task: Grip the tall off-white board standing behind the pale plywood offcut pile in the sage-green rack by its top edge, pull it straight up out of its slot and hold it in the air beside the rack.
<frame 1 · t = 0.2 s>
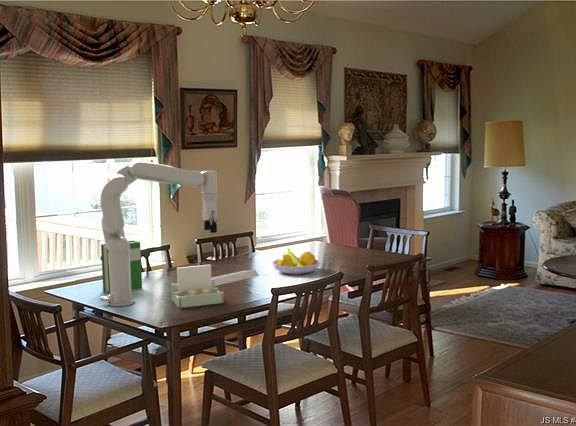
hand: (210, 231, 325), 31 cm above the table, tool pointing down, fingers open, 9 cm apart
fruit bowl: (296, 272, 376), on the table
crown molding: (230, 280, 360), on the table
sheet: (195, 299, 318), resting in rack
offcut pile: (199, 303, 311), resting in rack
hardback book: (122, 290, 339), on the table
rack: (195, 300, 316), on the table
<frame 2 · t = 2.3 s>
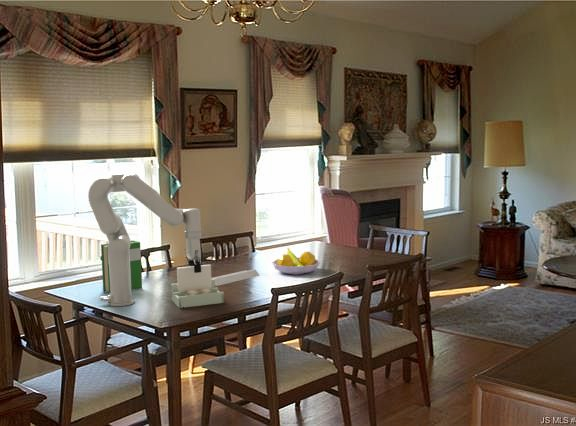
hand: (195, 270, 316), 14 cm above the table, tool pointing down, fingers open, 9 cm apart
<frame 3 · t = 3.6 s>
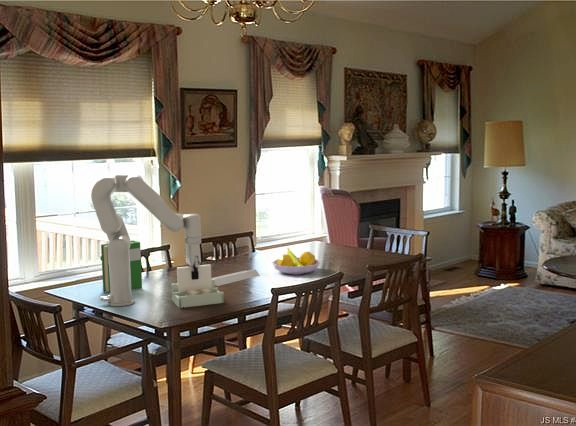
hand: (194, 278, 316), 10 cm above the table, tool pointing down, fingers closed on sheet, 2 cm apart
sheet: (195, 299, 318), resting in rack, touching gripper
everything else where it was.
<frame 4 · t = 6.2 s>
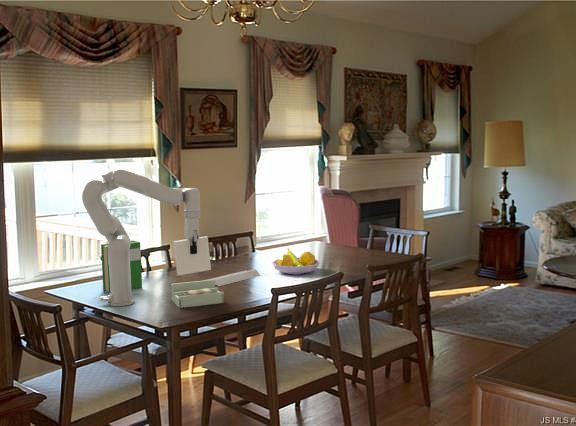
hand: (192, 253, 315), 22 cm above the table, tool pointing down, fingers closed on sheet
sheet: (194, 272, 316), point 13 cm above the table, touching gripper
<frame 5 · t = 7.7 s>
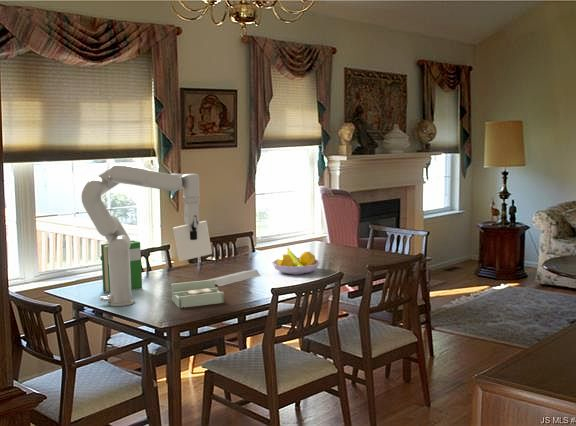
hand: (192, 239, 314), 29 cm above the table, tool pointing down, fingers closed on sheet
sheet: (195, 257, 316), point 20 cm above the table, tilted 8°, touching gripper
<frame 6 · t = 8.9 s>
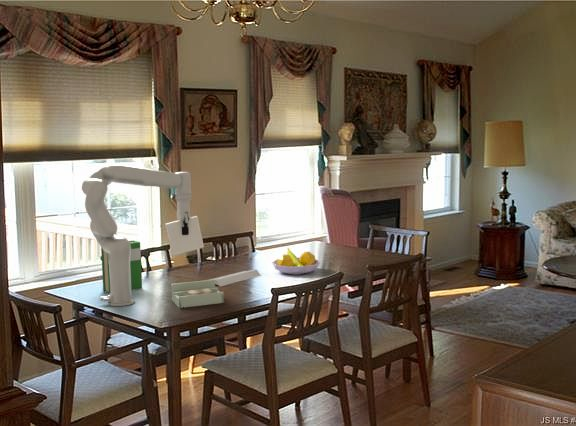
hand: (184, 234, 328), 29 cm above the table, tool pointing down, fingers closed on sheet
sheet: (188, 251, 330), point 21 cm above the table, tilted 10°, touching gripper
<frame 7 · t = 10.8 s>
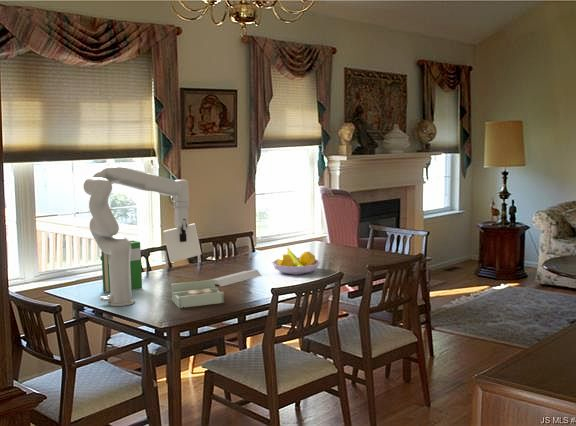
hand: (182, 241, 333), 25 cm above the table, tool pointing down, fingers closed on sheet
sheet: (185, 258, 335), point 16 cm above the table, tilted 10°, touching gripper
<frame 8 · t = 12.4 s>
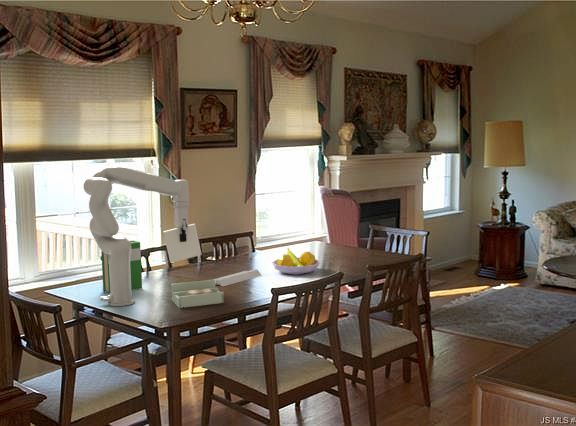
hand: (182, 241, 333), 25 cm above the table, tool pointing down, fingers closed on sheet
sheet: (185, 258, 335), point 16 cm above the table, tilted 10°, touching gripper
at the end: the gripper is holding sheet; sheet inside the target area (1.4 cm from its centre), point 16.1 cm above the table; sheet touching gripper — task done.
